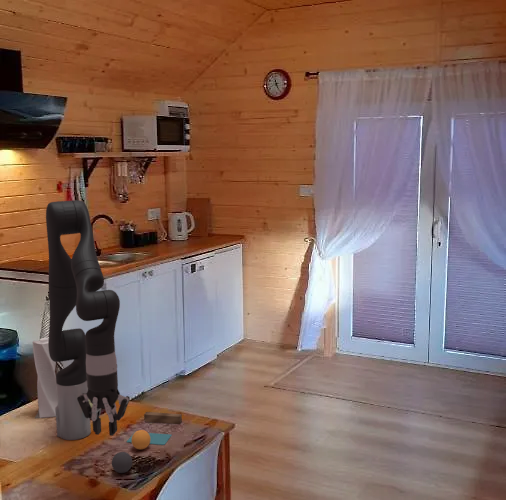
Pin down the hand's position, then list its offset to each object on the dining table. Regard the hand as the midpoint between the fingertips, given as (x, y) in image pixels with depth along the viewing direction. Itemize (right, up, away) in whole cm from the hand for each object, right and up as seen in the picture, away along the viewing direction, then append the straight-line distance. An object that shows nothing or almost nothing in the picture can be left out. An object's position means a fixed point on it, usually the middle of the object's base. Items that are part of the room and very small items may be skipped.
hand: (105, 433), depth 162 cm
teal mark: (+6, -10, +31) cm, 33 cm away
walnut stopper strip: (+9, -8, +43) cm, 45 cm away
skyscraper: (-31, -9, +51) cm, 60 cm away
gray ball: (+2, -11, +11) cm, 15 cm away
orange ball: (+5, -9, +24) cm, 26 cm away
